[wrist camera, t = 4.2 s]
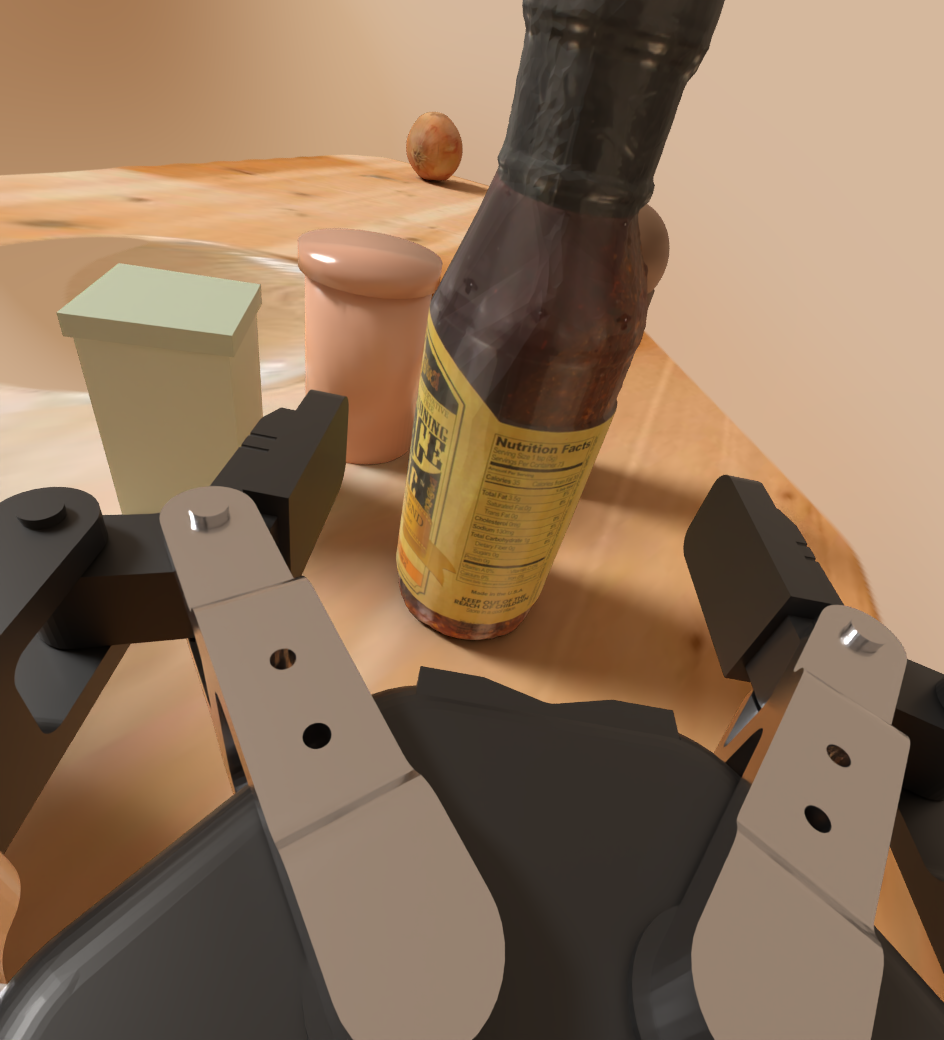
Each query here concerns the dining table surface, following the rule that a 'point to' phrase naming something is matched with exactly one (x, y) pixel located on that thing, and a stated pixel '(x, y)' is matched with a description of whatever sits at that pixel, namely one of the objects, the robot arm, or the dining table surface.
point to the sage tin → (167, 376)
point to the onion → (434, 146)
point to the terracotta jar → (367, 331)
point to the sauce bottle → (541, 309)
